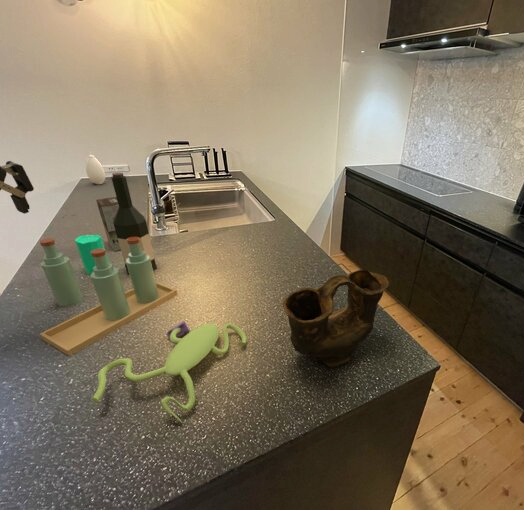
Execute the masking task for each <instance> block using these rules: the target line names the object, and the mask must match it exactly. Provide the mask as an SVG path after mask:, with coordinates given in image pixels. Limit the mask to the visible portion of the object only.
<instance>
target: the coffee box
mask: <svg viewBox="0 0 524 510" xmlns="http://www.w3.org/2000/svg"><path fill="white" fill-rule="evenodd" d="M95 201H96V205H97V208H98V212H99V214H100V218H101V221H102V225H103V227H104V231H105V234H106V238H107V242H108V244H109V246H110V247H111V249H112V251H113V252H117V251H121V249H120V245H119V242H118V238H117V235H116V231H115V228H114V224H113V219H114V217H115V215H116V212H117V210H118V208H119V205H118V201H117V197H116V196H114V197H106V198H98V199H96V200H95Z"/></svg>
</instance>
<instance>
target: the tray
mask: <svg viewBox="0 0 524 510" xmlns="http://www.w3.org/2000/svg"><path fill="white" fill-rule="evenodd" d="M156 285H157V290H158V294H159V297H158V299H156V300H155V301H153V302H150V303H145V304H142V303H138V302H137V300H136V297H135V293H134V289H133V288H131V289H129V290H127V291H125V295H126V298H127V302H128V305H129V308H130V313H129V314H128V315H127V316H126V317H124V318H122V319H119V320H115V321H109V320H107V319H105V316H104V313H103V311H102V308H101V305H100V304H98V305H96V306H94V307H92V308H90V309H88V310H85V311H84V312H82V313H79V314H77V315H75V316H73V317H71V318H69V319H67V320H65V321H63V322H61V323H59V324H57V325H55V326H53V327H50V328H49V329H46V330H45V331H43V332H40V333H39V337H40V339H41V340H42V341H44V342H45V343H47V344H49V345H50V346H52V347H54V348H55V349H57V350H59V351H60V352H62V353H63V354H65V355H67V356H69V357H72V356H73V355H75V354H76V353H79V352H80V351H82V350H84V349H85V348H87V347H89V346H91V345H92V344H94V343H96V342H98V341H99V340H102V339H103V338H104V337H107V336H108V335H110V334H111V333H114V332H115V331H117V330H119V329H120V328H122V327H123V326H126V325H127V324H129V323H131V322H132V321H134V320H136V319H137V318H139V317H141V316H143V315H144V314H147V313H148V312H150V311H152V310H153V309H155V308H157V307H158V306H160V305H162V304H164V303H166V302H167V301H169V300H171V299H172V298H174V297H176V296H177V295H179V293H178V290H177V289H176V288H173V287H171V286H168V285H165V284H164V283H161V282H158V281H156Z"/></svg>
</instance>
